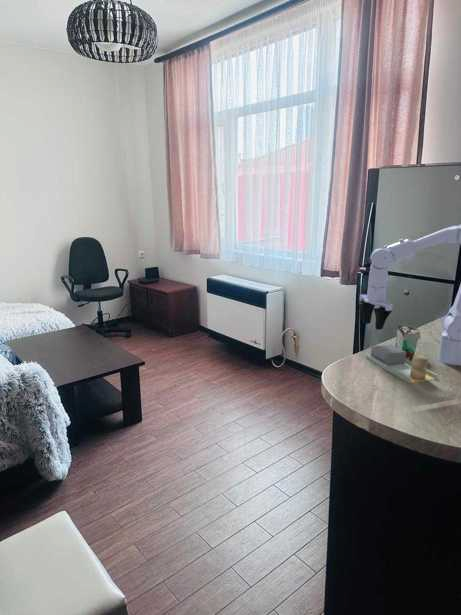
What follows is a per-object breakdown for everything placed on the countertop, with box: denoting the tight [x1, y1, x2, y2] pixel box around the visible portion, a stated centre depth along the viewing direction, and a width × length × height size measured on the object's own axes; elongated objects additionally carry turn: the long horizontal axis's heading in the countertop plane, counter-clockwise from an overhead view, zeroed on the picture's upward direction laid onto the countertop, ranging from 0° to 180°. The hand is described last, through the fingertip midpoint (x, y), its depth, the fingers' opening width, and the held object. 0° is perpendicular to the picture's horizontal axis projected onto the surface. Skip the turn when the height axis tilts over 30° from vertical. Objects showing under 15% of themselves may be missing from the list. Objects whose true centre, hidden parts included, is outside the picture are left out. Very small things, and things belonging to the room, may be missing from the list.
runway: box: [364, 353, 438, 384], centre depth 130 cm, size 10×20×2 cm, turn 19°
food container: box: [394, 323, 421, 360], centre depth 140 cm, size 12×6×10 cm, turn 169°
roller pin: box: [410, 354, 429, 380], centre depth 122 cm, size 4×4×6 cm
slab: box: [370, 344, 406, 366], centre depth 135 cm, size 8×7×4 cm
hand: (372, 326), depth 141 cm, fingers open, 6 cm apart
